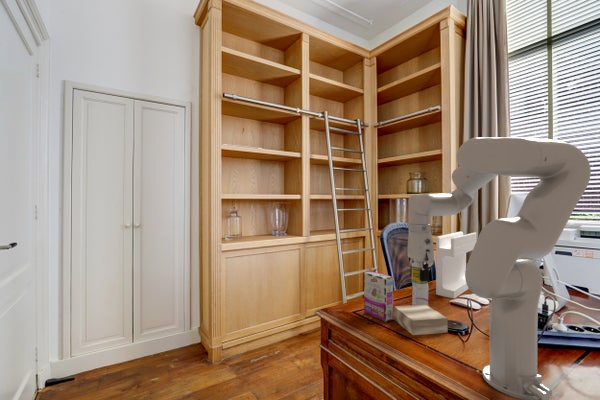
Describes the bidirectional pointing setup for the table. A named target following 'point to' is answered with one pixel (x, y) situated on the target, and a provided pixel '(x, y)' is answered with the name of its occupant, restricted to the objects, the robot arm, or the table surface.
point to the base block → (420, 319)
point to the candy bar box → (378, 295)
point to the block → (452, 263)
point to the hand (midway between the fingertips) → (419, 278)
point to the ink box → (420, 295)
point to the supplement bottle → (417, 273)
